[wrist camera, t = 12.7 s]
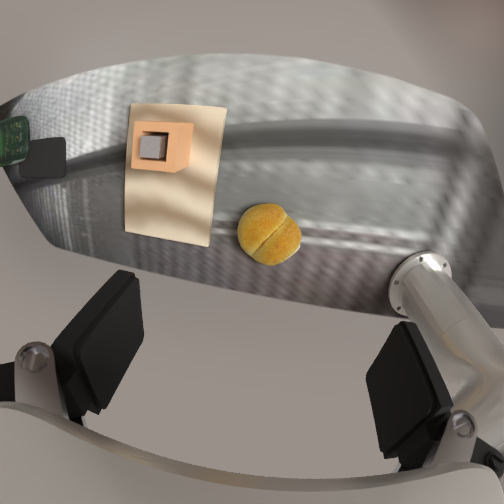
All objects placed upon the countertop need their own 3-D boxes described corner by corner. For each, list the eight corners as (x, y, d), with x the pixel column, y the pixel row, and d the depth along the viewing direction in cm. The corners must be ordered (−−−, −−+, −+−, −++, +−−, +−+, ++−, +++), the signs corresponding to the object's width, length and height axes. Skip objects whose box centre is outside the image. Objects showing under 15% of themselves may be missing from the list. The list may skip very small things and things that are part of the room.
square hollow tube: (188, 166, 36) (174, 172, 31) (149, 161, 36) (131, 168, 31) (193, 123, 33) (179, 123, 28) (153, 120, 34) (134, 121, 29)
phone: (18, 142, 36) (64, 136, 35) (20, 141, 37) (67, 136, 36) (19, 177, 39) (64, 178, 39) (22, 176, 40) (67, 177, 39)
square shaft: (178, 152, 35) (158, 158, 29) (160, 151, 35) (139, 156, 30) (180, 134, 34) (160, 136, 28) (162, 132, 34) (141, 135, 28)
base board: (209, 244, 42) (207, 246, 41) (128, 228, 42) (125, 231, 41) (227, 108, 33) (225, 108, 32) (134, 103, 33) (131, 103, 33)
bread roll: (265, 190, 38) (264, 197, 34) (309, 234, 40) (312, 246, 36) (225, 229, 41) (220, 239, 37) (268, 268, 43) (267, 282, 39)
